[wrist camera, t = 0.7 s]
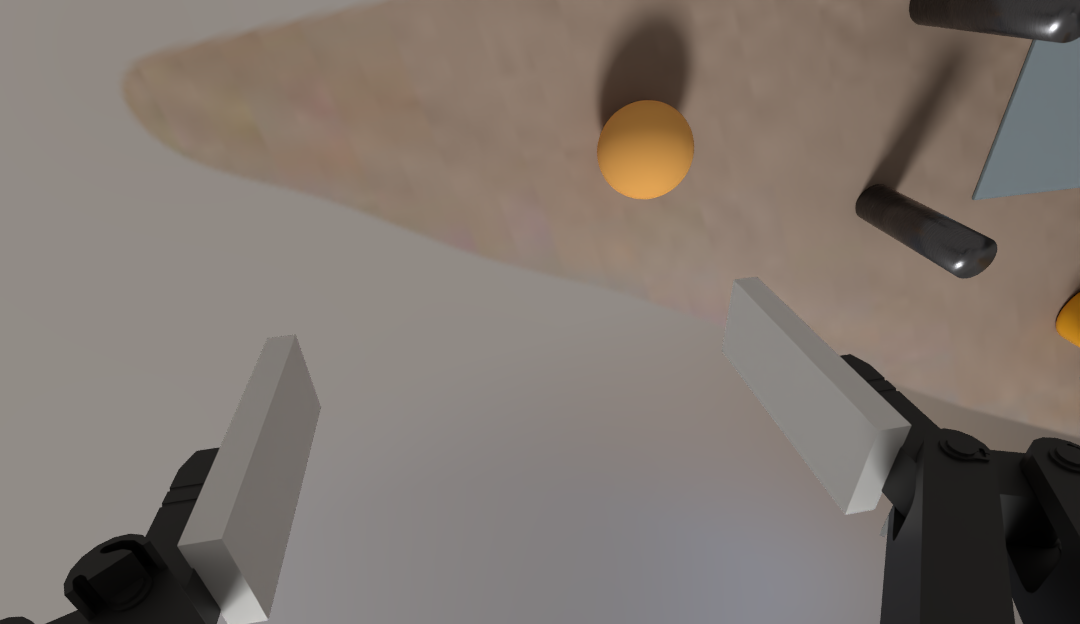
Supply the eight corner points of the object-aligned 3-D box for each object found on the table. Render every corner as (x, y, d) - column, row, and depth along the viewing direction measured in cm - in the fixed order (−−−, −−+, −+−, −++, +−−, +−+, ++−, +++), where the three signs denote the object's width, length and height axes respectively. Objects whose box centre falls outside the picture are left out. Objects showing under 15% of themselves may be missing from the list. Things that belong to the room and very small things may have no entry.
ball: (677, 87, 33) (715, 107, 28) (670, 176, 36) (704, 207, 31) (587, 95, 33) (611, 117, 28) (588, 185, 35) (610, 218, 31)
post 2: (895, 182, 39) (1004, 235, 31) (884, 217, 40) (986, 275, 33) (860, 186, 39) (962, 240, 31) (851, 220, 40) (946, 280, 32)
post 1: (958, -28, 32) (1117, -24, 24) (943, 23, 33) (1089, 40, 26) (917, -24, 32) (1065, -20, 24) (903, 26, 33) (1039, 45, 26)
